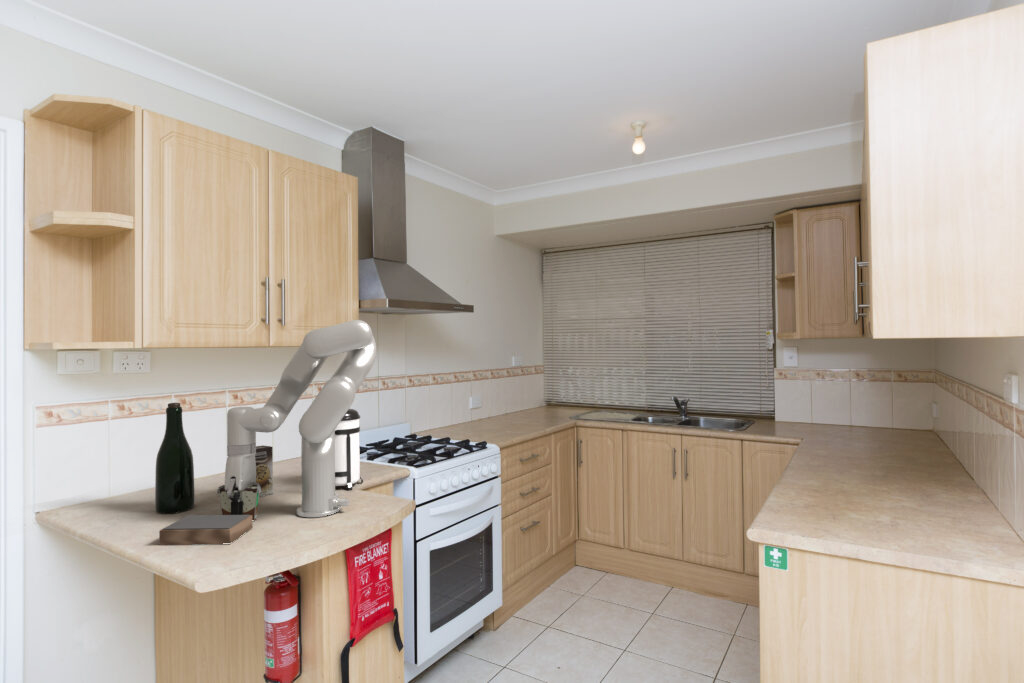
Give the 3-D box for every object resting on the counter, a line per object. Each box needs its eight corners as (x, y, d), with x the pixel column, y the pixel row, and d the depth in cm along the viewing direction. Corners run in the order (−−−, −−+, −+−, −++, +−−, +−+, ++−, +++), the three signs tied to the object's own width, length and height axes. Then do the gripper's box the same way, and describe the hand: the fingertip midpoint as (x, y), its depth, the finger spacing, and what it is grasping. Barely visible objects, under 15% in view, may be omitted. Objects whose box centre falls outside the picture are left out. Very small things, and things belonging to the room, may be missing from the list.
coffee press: (312, 485, 200) (311, 401, 200) (356, 479, 209) (355, 398, 209) (325, 496, 185) (324, 406, 185) (372, 489, 194) (371, 402, 194)
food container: (269, 514, 166) (268, 481, 166) (259, 521, 160) (259, 486, 160) (228, 515, 166) (227, 481, 166) (217, 521, 160) (216, 486, 160)
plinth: (252, 528, 154) (252, 514, 154) (230, 544, 142) (229, 528, 142) (187, 529, 154) (187, 514, 154) (159, 545, 142) (159, 529, 142)
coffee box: (247, 500, 182) (246, 450, 182) (237, 497, 186) (237, 448, 186) (273, 493, 190) (273, 446, 190) (263, 491, 194) (263, 444, 194)
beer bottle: (179, 503, 180) (178, 400, 180) (202, 506, 176) (201, 401, 176) (147, 512, 170) (146, 404, 170) (171, 516, 166) (169, 405, 166)
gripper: (243, 444, 171) (243, 503, 171) (213, 455, 154) (213, 521, 154) (267, 444, 171) (267, 503, 171) (240, 455, 154) (240, 521, 154)
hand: (242, 511), depth 163 cm, fingers closed on food container, 5 cm apart
